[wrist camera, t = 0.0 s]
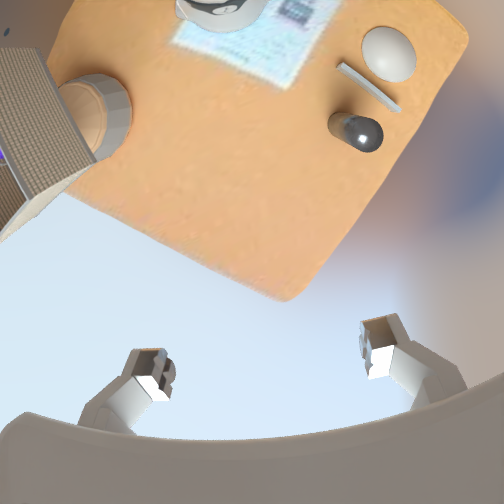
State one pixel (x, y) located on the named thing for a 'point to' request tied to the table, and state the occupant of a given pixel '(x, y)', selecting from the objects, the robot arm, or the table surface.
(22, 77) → the desk lamp
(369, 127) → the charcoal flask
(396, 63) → the resting pad
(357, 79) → the acrylic wall
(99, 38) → the table surface
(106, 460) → the robot arm
